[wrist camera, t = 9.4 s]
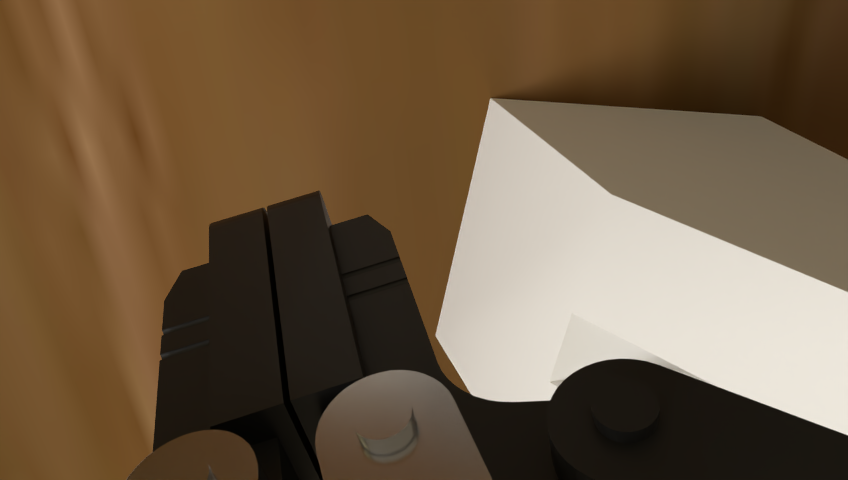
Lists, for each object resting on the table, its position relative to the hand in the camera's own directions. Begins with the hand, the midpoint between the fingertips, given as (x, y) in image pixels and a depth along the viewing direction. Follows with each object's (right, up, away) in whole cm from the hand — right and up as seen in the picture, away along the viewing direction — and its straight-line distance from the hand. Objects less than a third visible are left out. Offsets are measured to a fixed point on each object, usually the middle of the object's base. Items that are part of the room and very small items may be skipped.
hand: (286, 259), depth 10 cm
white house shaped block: (+13, +1, +36) cm, 38 cm away
